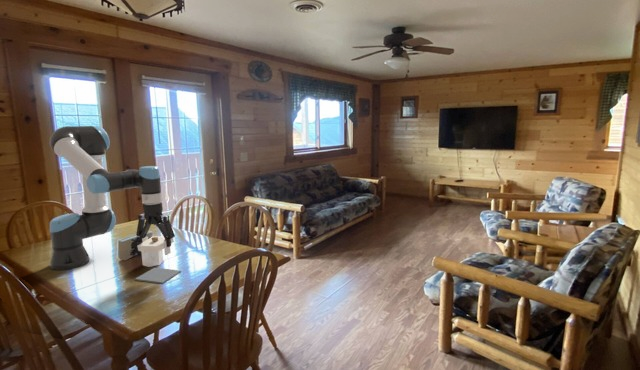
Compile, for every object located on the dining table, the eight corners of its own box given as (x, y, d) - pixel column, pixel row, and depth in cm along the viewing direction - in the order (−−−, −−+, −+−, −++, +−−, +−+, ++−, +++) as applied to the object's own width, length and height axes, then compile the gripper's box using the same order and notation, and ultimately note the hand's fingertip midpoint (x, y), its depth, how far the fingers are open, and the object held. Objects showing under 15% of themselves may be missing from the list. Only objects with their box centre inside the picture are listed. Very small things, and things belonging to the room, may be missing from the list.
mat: (135, 280, 148) (134, 278, 148) (154, 268, 160) (154, 267, 159) (163, 283, 145) (163, 282, 145) (181, 271, 156) (181, 270, 156)
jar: (143, 268, 160) (141, 243, 158) (141, 262, 166) (139, 238, 164) (164, 264, 165) (162, 240, 162) (161, 258, 171) (159, 235, 169)
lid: (138, 251, 146) (136, 242, 145) (154, 241, 156) (152, 232, 154) (158, 251, 144) (156, 243, 143) (173, 241, 153) (172, 233, 152)
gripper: (123, 203, 145) (128, 253, 149) (169, 206, 140) (174, 258, 144) (136, 199, 153) (141, 247, 156) (181, 202, 147) (185, 251, 151)
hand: (157, 252), depth 150 cm, fingers closed on lid, 10 cm apart
